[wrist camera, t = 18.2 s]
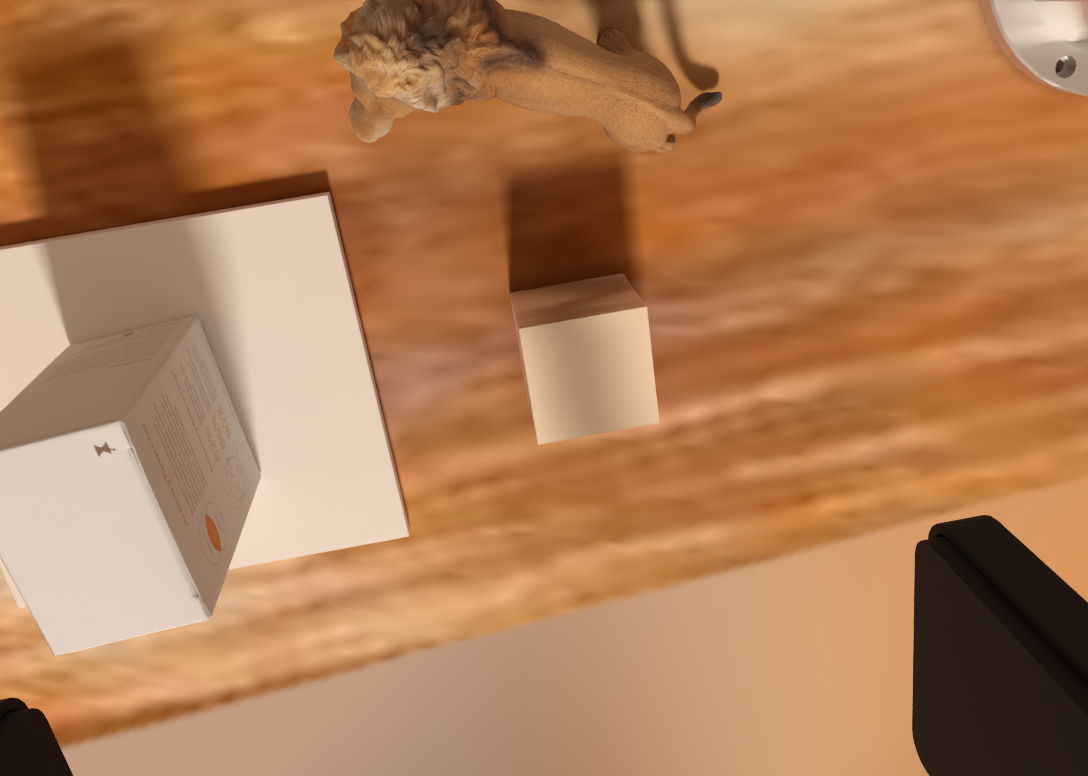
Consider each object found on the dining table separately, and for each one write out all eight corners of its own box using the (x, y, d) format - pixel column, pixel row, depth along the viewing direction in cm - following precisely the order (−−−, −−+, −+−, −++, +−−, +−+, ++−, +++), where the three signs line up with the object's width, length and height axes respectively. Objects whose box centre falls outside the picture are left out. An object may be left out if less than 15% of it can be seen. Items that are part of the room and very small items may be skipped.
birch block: (622, 272, 40) (646, 306, 35) (634, 377, 42) (659, 422, 37) (509, 292, 40) (518, 328, 35) (526, 396, 42) (538, 444, 37)
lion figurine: (348, 116, 36) (321, 148, 28) (354, -31, 34) (328, -44, 26) (705, 158, 38) (779, 198, 30) (731, 22, 36) (817, 25, 28)
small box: (67, 342, 37) (-62, 457, 28) (201, 310, 38) (119, 414, 28) (142, 508, 41) (49, 663, 31) (265, 478, 41) (211, 624, 31)
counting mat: (329, 191, 37) (327, 195, 36) (409, 527, 43) (409, 536, 43) (-122, 266, 36) (-133, 272, 36) (26, 597, 43) (19, 608, 42)
